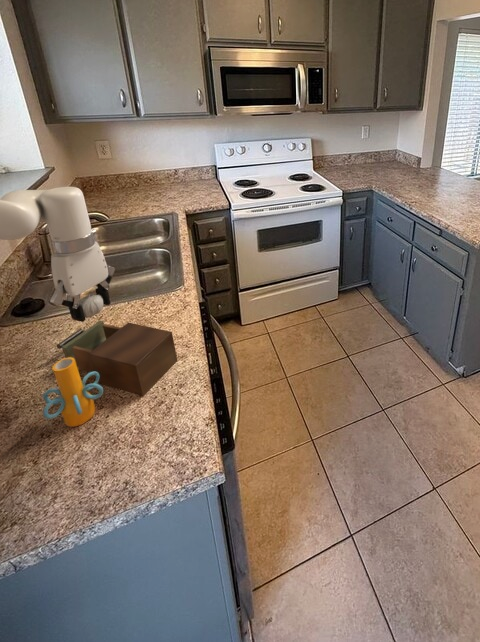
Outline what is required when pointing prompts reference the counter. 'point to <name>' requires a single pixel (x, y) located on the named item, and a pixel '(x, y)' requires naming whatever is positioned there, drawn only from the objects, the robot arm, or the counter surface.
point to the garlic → (91, 304)
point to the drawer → (86, 343)
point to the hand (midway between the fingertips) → (92, 311)
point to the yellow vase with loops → (72, 393)
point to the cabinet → (134, 358)
